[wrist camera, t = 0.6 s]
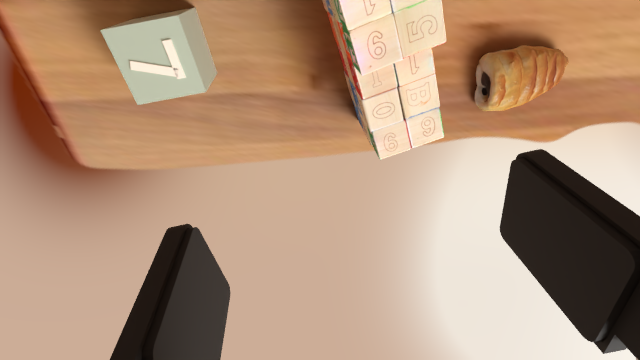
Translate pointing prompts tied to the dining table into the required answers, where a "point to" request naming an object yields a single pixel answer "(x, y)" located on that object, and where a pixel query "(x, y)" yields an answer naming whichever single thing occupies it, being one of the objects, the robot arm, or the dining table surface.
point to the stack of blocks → (391, 68)
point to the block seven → (162, 55)
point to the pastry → (517, 76)
